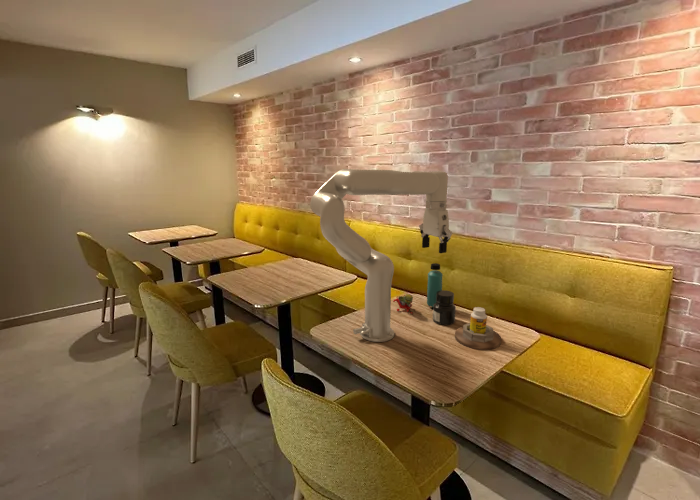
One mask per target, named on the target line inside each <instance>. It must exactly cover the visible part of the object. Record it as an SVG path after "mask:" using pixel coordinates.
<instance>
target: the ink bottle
mask: <svg viewBox="0 0 700 500" xmlns="http://www.w3.org/2000/svg"><path fill="white" fill-rule="evenodd" d="M454 299H455V293H454V292H452V291H450V290H444V289H442V291H437V293H436V303H435V304H434V305H433V307H432V308H433V309H432V320H433V322H434V323H435V324H437V325H442V326H451V325H454V323H456V309H457V306H456V305H455V304H454V302H455V301H454Z"/></svg>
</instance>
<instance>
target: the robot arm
mask: <svg viewBox="0 0 700 500" xmlns="http://www.w3.org/2000/svg"><path fill="white" fill-rule="evenodd" d="M448 178H449V175H448V173H447V172H445V171H400V170H393V169H391V170H390V169H356V168H355V169H353V168H352V169H351V168H343V169H340V170H338V171H337V172H335V173H334V174H333V175H332V176H331V177H330V178H329V179H328V180H327V181H326V182H325V183H324V184H323V185H321V187H320V188H318V189H317V191H315V193H314V194H313V195H312V196H311V198H310V202H309V206H310V209H311V211H312V213H314V215H316V216H319V217H320V220H319V225H320V231H321V234H322V236H323V238H325V240H327V242H328V243H330V244H331V245H332V246H333V247H334V248H335V251H336V252H337V253H338V255H339V256H340V257H341V258H343V259H344V260H345V261H347V262H348V263H349V264H351V265H352V266H353V267H354V268H356V269H358V270H359V271H360V272H362V273H363V274H364V275H366V276H367V278H366V279H367V280H366V283H365V287H364V323H361V324H362V325H361V326H360V327H358V328H353V331H352V332H353V335H357V334H358V335H360V336H361V338H363V339H365V340H366V341H369V342H372V343H384V342H387V341H390V340H392V339H393V338H394V337H395V331H394V329H393V328H392V327H391V315H392V314H391V311H392V310H391V308H392V307H391V304H392V299H391V298H392V283H393V276H394V271H395V265H394V263H393V260H392V259H391V258H390V257H389V256H387V254H384V253H382V252H380V251H377V250H375V249H373V248H372V247H371V245H370V242H368V240H366V238H364V237H363V236H361V235H360V234H359V233H358V232H356V231H355V230H354V229H352V227H350V225H348V224H347V222H346V220H345V209H346V208H345V204H344V200H343V198H345V197H346V195H350V196H375V195H376V196H385V195H386V196H399V195H400V196H401V195H402V196H404V195H407V196H408V195H411V196H416V195H418V196H419V195H421V196H422V195H424V196H425V209H424V213H423V219H422V220H423V221H422V223H421V224H419V225H418V227H419V232H420V235H421V239H422V241H421V248H422V249H426V248H430V241H431V240H430V239H431V238H430V236H433V237H435V238H436V237H437V238H438V240H439V244H438V245H439V246H438V254H445V253H447V247H448V243H449V241H450V240H451V237H452V235H453V232H452V231H451V229H450V217H449V211H448V209H447V207H448V204H447V199H448V182H449V181H448V180H449V179H448Z"/></svg>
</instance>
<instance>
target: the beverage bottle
mask: <svg viewBox="0 0 700 500" xmlns="http://www.w3.org/2000/svg"><path fill="white" fill-rule="evenodd" d="M440 270H441V264H439V263H437V262H436V263H435V262H433V263H431V264H430V271H429V272H428V273H427V287H426V290H427V294H426V303H427V304H426V305H427V306H429V307H432V308H433V305H434V304H435V303H436V293H437V291H442V290H443V276H444V275H443V273H442V272H441V271H440Z"/></svg>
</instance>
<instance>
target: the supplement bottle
mask: <svg viewBox="0 0 700 500" xmlns="http://www.w3.org/2000/svg"><path fill="white" fill-rule="evenodd" d="M487 321H488V315H487V313H486V309H485V308H484V307H481V306H480V307H479V306H477V307H476V306H475V307H473V310H472V312H471V313H470V320H469V323H470V332H472V333H477V334H485V332H486V325H487Z"/></svg>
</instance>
